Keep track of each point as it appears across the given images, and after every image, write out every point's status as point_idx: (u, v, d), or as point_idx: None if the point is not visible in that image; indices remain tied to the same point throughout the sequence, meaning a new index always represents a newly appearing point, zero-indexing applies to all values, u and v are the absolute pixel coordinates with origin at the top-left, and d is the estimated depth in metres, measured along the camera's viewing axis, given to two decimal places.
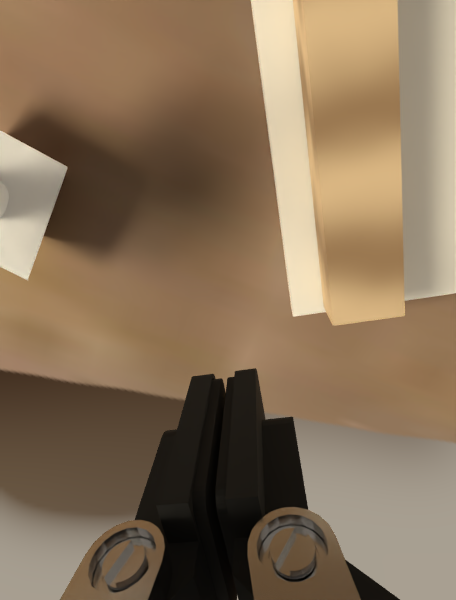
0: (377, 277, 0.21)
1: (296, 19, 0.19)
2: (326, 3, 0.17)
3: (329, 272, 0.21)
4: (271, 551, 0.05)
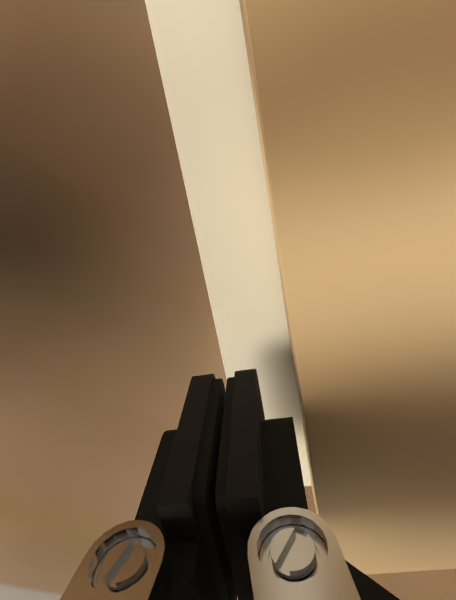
0: (438, 489, 0.08)
1: None
2: None
3: (317, 475, 0.08)
4: (271, 551, 0.05)
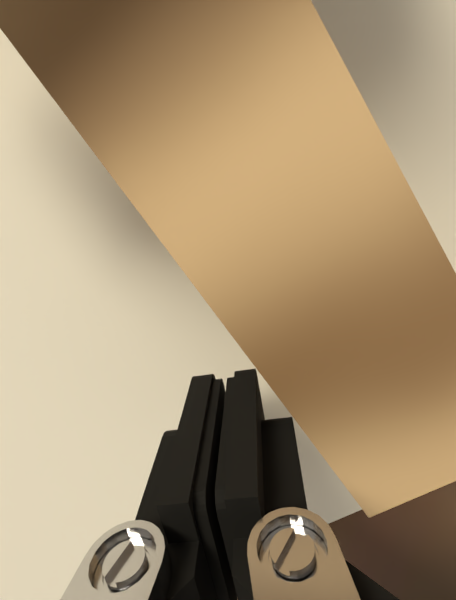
0: (427, 386, 0.07)
1: None
2: None
3: (298, 418, 0.08)
4: (271, 551, 0.05)
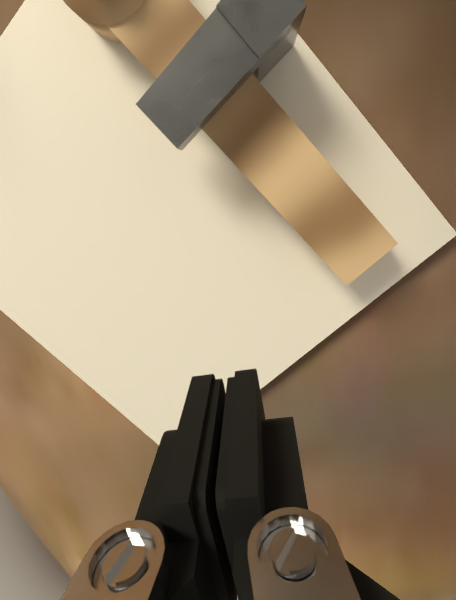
0: (354, 230, 0.23)
1: None
2: None
3: (315, 250, 0.24)
4: (271, 551, 0.05)
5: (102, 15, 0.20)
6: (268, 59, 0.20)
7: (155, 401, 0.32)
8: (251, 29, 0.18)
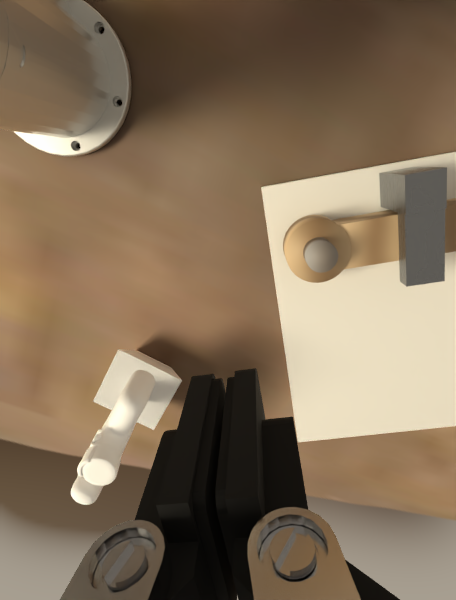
0: None
1: None
2: None
3: None
4: (271, 551, 0.05)
5: (339, 268, 0.33)
6: None
7: None
8: (431, 203, 0.29)
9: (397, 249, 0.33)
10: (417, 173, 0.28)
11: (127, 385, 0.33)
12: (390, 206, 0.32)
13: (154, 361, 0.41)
